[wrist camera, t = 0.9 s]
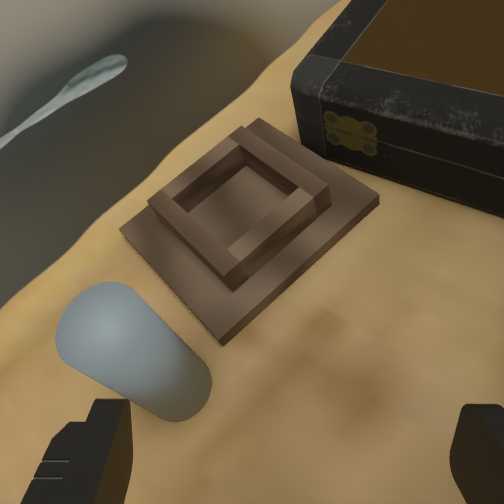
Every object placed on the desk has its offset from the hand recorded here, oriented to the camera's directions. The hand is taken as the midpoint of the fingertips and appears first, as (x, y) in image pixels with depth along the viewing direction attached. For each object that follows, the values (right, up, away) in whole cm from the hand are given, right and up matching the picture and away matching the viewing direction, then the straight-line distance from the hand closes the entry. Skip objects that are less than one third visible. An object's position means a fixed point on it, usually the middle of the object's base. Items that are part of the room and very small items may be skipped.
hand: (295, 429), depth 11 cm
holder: (-2, +7, +26) cm, 27 cm away
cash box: (+18, +16, +27) cm, 37 cm away
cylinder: (-6, -5, +20) cm, 22 cm away
